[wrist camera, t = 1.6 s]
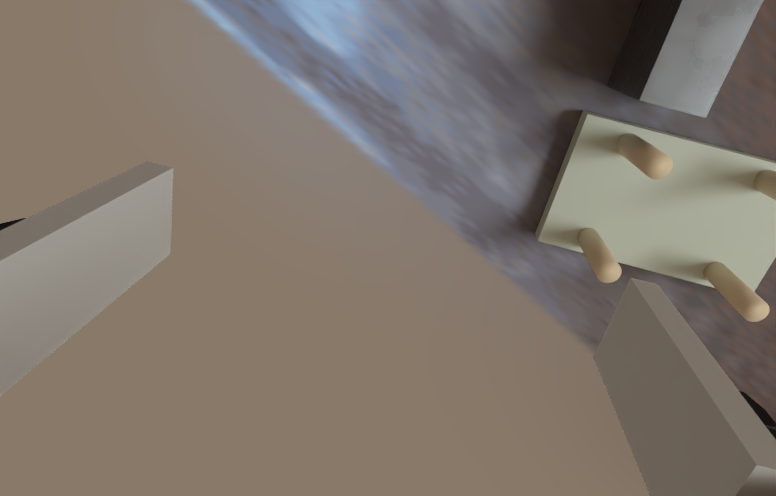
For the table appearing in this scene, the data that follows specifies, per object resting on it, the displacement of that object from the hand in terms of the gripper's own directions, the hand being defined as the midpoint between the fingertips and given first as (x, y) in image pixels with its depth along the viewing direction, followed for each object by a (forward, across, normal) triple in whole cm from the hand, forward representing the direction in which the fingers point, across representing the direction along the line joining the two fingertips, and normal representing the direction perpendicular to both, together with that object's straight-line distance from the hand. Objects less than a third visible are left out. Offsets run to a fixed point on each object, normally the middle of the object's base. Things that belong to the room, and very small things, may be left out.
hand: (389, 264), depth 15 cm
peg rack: (+26, +19, -3) cm, 33 cm away
